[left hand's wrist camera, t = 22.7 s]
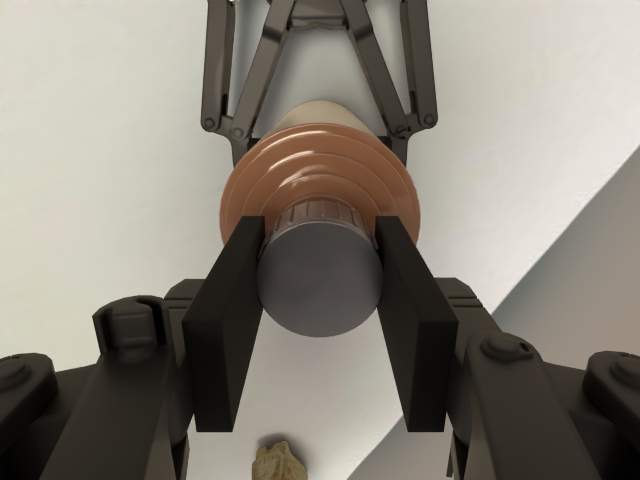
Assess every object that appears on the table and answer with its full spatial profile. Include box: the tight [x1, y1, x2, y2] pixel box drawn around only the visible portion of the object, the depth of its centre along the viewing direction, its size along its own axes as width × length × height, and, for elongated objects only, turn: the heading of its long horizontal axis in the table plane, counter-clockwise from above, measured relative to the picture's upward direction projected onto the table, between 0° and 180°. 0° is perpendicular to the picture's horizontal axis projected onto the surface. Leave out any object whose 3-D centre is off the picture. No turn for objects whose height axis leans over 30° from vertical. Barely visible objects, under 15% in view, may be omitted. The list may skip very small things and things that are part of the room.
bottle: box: [219, 100, 420, 247], centre depth 24 cm, size 8×8×24 cm
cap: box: [256, 200, 384, 337], centre depth 13 cm, size 4×4×2 cm
